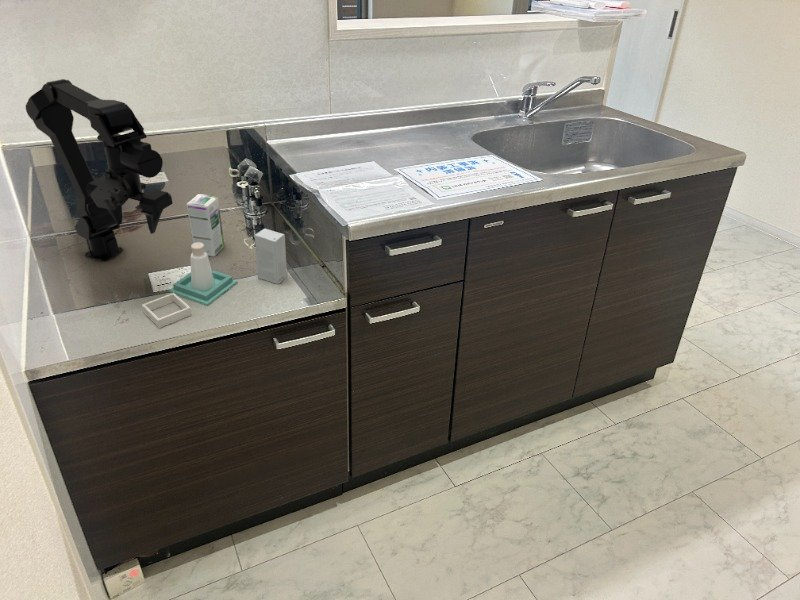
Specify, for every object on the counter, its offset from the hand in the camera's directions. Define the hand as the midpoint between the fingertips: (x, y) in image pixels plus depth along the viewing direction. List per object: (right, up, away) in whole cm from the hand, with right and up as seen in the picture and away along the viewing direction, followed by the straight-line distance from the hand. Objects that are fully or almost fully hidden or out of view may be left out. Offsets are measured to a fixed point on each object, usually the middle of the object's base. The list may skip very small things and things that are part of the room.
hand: (136, 228), depth 138 cm
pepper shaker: (+14, -13, +5) cm, 20 cm away
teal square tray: (+14, -13, +5) cm, 20 cm away
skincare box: (+29, -11, +11) cm, 33 cm away
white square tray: (+9, -19, -4) cm, 21 cm away
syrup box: (+11, -4, +19) cm, 22 cm away
